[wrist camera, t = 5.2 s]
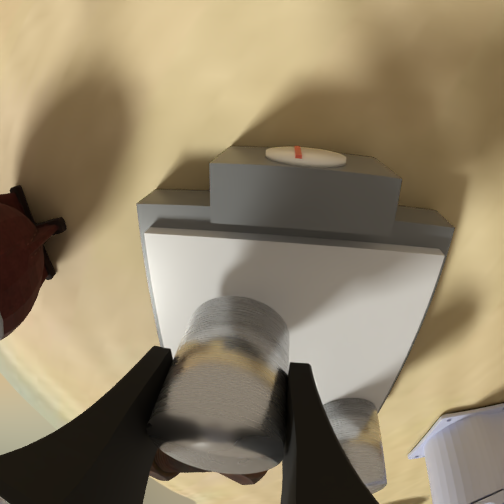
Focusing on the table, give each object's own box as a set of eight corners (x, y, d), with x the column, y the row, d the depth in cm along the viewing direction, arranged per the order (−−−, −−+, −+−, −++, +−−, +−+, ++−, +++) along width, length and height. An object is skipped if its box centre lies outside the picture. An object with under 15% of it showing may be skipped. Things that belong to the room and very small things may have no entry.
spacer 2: (385, 397, 15) (398, 473, 11) (365, 431, 17) (372, 497, 12) (317, 397, 15) (317, 479, 11) (305, 431, 17) (303, 500, 13)
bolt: (140, 425, 28) (253, 404, 22) (162, 462, 27) (280, 452, 22) (102, 448, 23) (217, 442, 17) (128, 488, 22) (250, 495, 16)
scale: (445, 162, 11) (487, 186, 8) (364, 408, 20) (369, 450, 16) (152, 139, 13) (110, 155, 9) (186, 395, 21) (173, 435, 18)
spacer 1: (295, 300, 11) (292, 424, 6) (284, 374, 13) (277, 478, 8) (184, 290, 11) (131, 399, 7) (193, 363, 13) (161, 461, 9)
